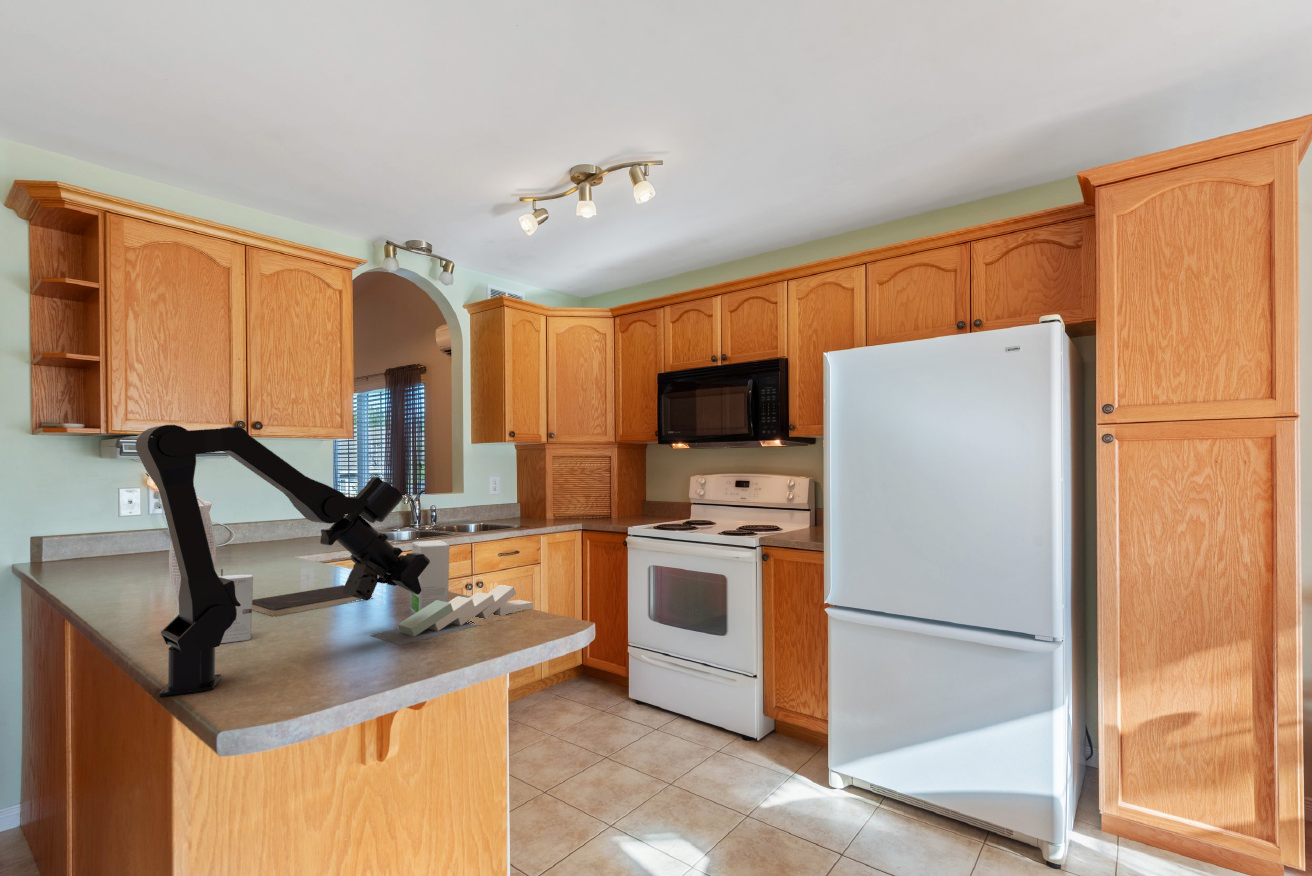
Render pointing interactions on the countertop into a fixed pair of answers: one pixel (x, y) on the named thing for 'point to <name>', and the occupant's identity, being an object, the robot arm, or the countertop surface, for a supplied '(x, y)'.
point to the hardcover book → (302, 601)
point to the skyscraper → (173, 564)
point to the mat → (402, 638)
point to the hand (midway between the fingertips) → (419, 592)
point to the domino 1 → (425, 618)
